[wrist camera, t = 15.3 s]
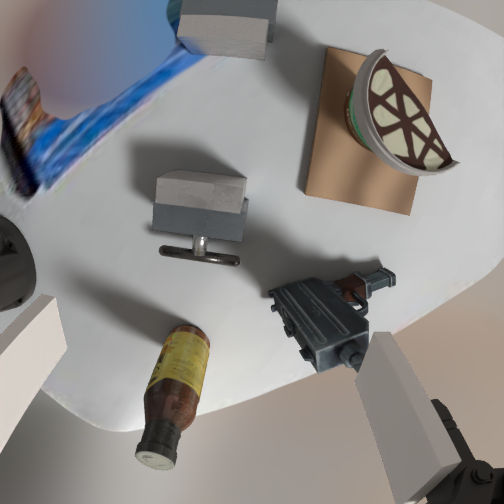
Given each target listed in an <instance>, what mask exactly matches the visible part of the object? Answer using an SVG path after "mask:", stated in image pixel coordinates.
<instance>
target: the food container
mask: <svg viewBox="0 0 504 504" xmlns="http://www.w3.org/2000/svg"><path fill="white" fill-rule="evenodd" d="M388 51H389V50H386V51H385V50H384V49H379V50H375V51H374V52H373V53H371V54H370V55H369V56H368V57H367V58H366V60H365V61H364V62H363V63H362V65H361V67H360V69H359V70H358V73H357V76H356V79H355V82H354V84H353V85H352V87H351V88H350V90H349V92H348V93H347V95H346V99H345V104H344V117H345V123H346V125H347V128H348V130H349V132H350V134H351V136H352V137H353V138H354V139H355V141H356V142H357V143H358V144H359V145H361V146H362V147H363V148H365V149H366V150H368V151H371V152H373V153H375V155H377V156H378V157H379V158H380V159H381V160H382V161H383V162H384V163H386V164H387V165H389V166H390V167H391V168H393V169H395V170H397V171H399V172H402V173H405V174H408V175H414V176H429V175H436V174H440V173H444V172H446V171H448V170H450V169H452V168H454V167H455V166H457V165H458V164H459V163H460V162H457V161H455V160H452V158H451V156H450V153H449V152H448V151H447V149H446V147H445V146H444V144H443V142H442V140H441V138H440V136H439V134H438V132H437V131H436V129H435V127H434V125H433V123H432V121H431V119H430V117H429V115H428V113H427V111H426V110H425V108H424V106H423V105H422V104H421V102H420V101H419V99H418V98H417V97H416V95H415V94H414V93H413V92H412V90H411V89H410V88H409V86H408V85H407V84H406V82H405V81H404V80H403V78H402V77H401V75H400V74H399V73H398V71H397V70H396V69H395V67H394V66H393V65H392V63H391V62H390V61H389V59H388V58H387V57H386V56H385V54H386V53H387V52H388Z"/></svg>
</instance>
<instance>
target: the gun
mask: <svg viewBox="0 0 504 504" xmlns="http://www.w3.org/2000/svg"><path fill="white" fill-rule="evenodd" d="M395 285H396V276H395V274H394V273H393V272H391V271H389V270H388V269H386V268H382V269H379V272H376V273H373V274H370V275H368V276H364V275H362V274H361V273H359V272H355V273H353V274H352V275H351V276H349V277H346V278H344V279H340V280H336V281H328V282H324V281H322V280H319V279H316V278H313V277H311V278H308V279H305V280H302V281H298V282H295V283H292V284H289V285H285V286H282V287H279V288H275V289H272V290H269V291H267V292H268V295H269V296H270V297H274V302H275V304H274V305H272V306H271V310H272V312H275V311H278V313H279V314H280V316H281V317H282V319H283V320H282V321H283V323H284V324H285V326H284V330H285V333H286V335H287V336H288V337H289V338H290V337H293V336H294V337H295V339H296V340H297V342H298V344H299V345H300V347H301V348H302V349H301V350H299V352H300V354H301V355H302V357H303V359H304V360H305V361H310V362H311V363H312V365H313V366H314V368H315V370H316V371H317V372H318V374H319V373H322V372H324V371H327V370H330V369H332V368H334V367H337V366H340V365H342V364H345V366H346V367H348V368H354V369H355V370H356V371H357V373H358V372H359V370H360V367H361V365H362V362H363V360H364V357H365V355H366V352H367V349H368V347H369V321H368V320H367V319H365V318H364V316H365V315H366V314H367V313H368V302H367V300H366V299H369V298H370V297H371V296H372V292H373V291H376V290H378V289H381V288H384V287H386V286H388V287H389V288H390V287H392V286H395ZM358 305H361V306H362V308H361V309H358V310H355V309H354V308H353V307H352V306H358Z"/></svg>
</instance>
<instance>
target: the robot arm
mask: <svg viewBox="0 0 504 504" xmlns="http://www.w3.org/2000/svg"><path fill="white" fill-rule="evenodd" d="M35 285H36V270H35V264H34V260H33V257H32V254H31V251H30V249H29V246H28V244H27V242H26V240H25V239H24V237H23V235H22V234H21V233H20V231H19V230H18V229H17V228H16V227H15V226H14V225H13V224H12V223H11V222H10V221H8V220H6V219H4V218H2V217H0V312H3V311H6V310H10V309H13V308H17V307H19V306H21V305H22V304H23V303H25V302H26V301H27V300H28V299H29V298H30V297H31V296H32V294H33V292H34V290H35ZM66 350H67V345H66V341H65V337H64V333H63V329H62V325H61V321H60V317H59V312H58V307H57V303H56V298H55V297H53V296H48V295H44V294H42V295H41V296H40V297H38V298H37V299H36V300H35V301H34V302H33V303H32V304H31V305H30V306H29V307H28V308H27V309H26V310H25V311H24V312H23V313H22V314H21V315H20V316H19V317H18V318H17V319H16V320H15V321H14V322H13V323H12V324H11V325H10V326H9V327H8V328H7V329H6V330H5V331H4V332H3V333H2V334H1V335H0V453H1V451H2V449H3V447H4V446H5V444H6V442H7V440H8V439H9V437H10V435H11V433H12V432H13V430H14V429H15V427H16V425H17V424H18V422H19V420H20V419H21V417H22V415H23V414H24V412H25V411H26V409H27V407H28V406H29V404H30V403H31V401H32V400H33V398H34V397H35V395H36V393H37V392H38V390H39V389H40V387H41V386H42V384H43V383H44V381H45V380H46V378H47V377H48V376H49V374H50V373H51V371H52V370H53V368H54V367H55V365H56V364H57V362H58V361H59V360H60V358H61V357H62V355H63V354H64V353H65V351H66ZM355 383H356V386H357V388H358V391H359V394H360V397H361V400H362V402H363V405H364V408H365V411H366V414H367V417H368V419H369V422H370V425H371V428H372V431H373V434H374V437H375V440H376V443H377V446H378V449H379V452H380V455H381V458H382V461H383V464H384V467H385V470H386V473H387V476H388V480H389V483H390V486H391V490H392V493H393V496H394V499H395V503H396V504H417V503H418V502H419V501H420V500H421V499H423V497H425V496H426V498H427V501H428V502H427V503H426V504H504V468H495V469H493V468H492V467H491V466H490V465H489V464H488V463H487V462H485V461H481V460H475V458H474V457H473V455H472V453H471V451H470V449H469V447H468V445H467V443H466V441H465V440H464V437H463V436H462V434H461V432H460V430H459V429H457V425H456V423H455V421H454V420H453V417H452V416H451V414H450V412H449V410H448V409H447V407H446V406H445V405H443V404H442V403H441V402H440V401H439V400H438V399H433V400H430V399H429V397H428V395H427V394H426V392H425V390H424V388H423V387H422V385H421V383H420V381H419V379H418V378H417V376H416V375H415V373H414V371H413V369H412V367H411V366H410V364H409V362H408V361H407V359H406V357H405V356H404V354H403V352H402V351H401V349H400V347H399V346H398V344H397V342H396V341H395V339H394V338H393V336H392V334H391V333H390V332H374V333H373V336H372V339H371V341H370V344H369V347H368V349H367V352H366V355H365V357H364V360H363V362H362V365H361V367H360V370H359V372H358V375H357V377H356V379H355Z"/></svg>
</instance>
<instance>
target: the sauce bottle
mask: <svg viewBox="0 0 504 504" xmlns="http://www.w3.org/2000/svg"><path fill="white" fill-rule="evenodd" d="M209 348H210V343H209V340H208V338H207V337H206V335H205V334H204V333H203V332H202V331H201V330H199V329H198V328H195V327H192V326H179V327H177V328H175V329H173V330H172V332H171V333H170V334H169V336H168V337H167V339H166V341H165V343H164V346H163V348H162V351H161V353H160V356H159V358H158V360H157V363H156V366H155V368H154V370H153V373H152V376H151V378H150V381H149V383H148V386H147V388H146V392H145V394H144V409H145V430H144V433H143V436H142V439H141V442H139V444H138V445H137V449H136V453H135V457H136V458H137V460H138V461H140V462H141V463H143V464H144V465H146V466H148V467H151V468H153V469H158V470H171V469H173V468H174V466H175V463H176V459H177V452H176V449H177V446H178V441H179V439H180V437H181V432H182V431H184V430H185V429H186V428H188V427H189V426H190V425H191V423H192V422H193V420H194V418H195V415H196V410H197V405H198V403H199V400H200V395H201V391H202V386H203V381H204V376H205V372H206V367H207V362H208V357H209Z"/></svg>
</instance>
